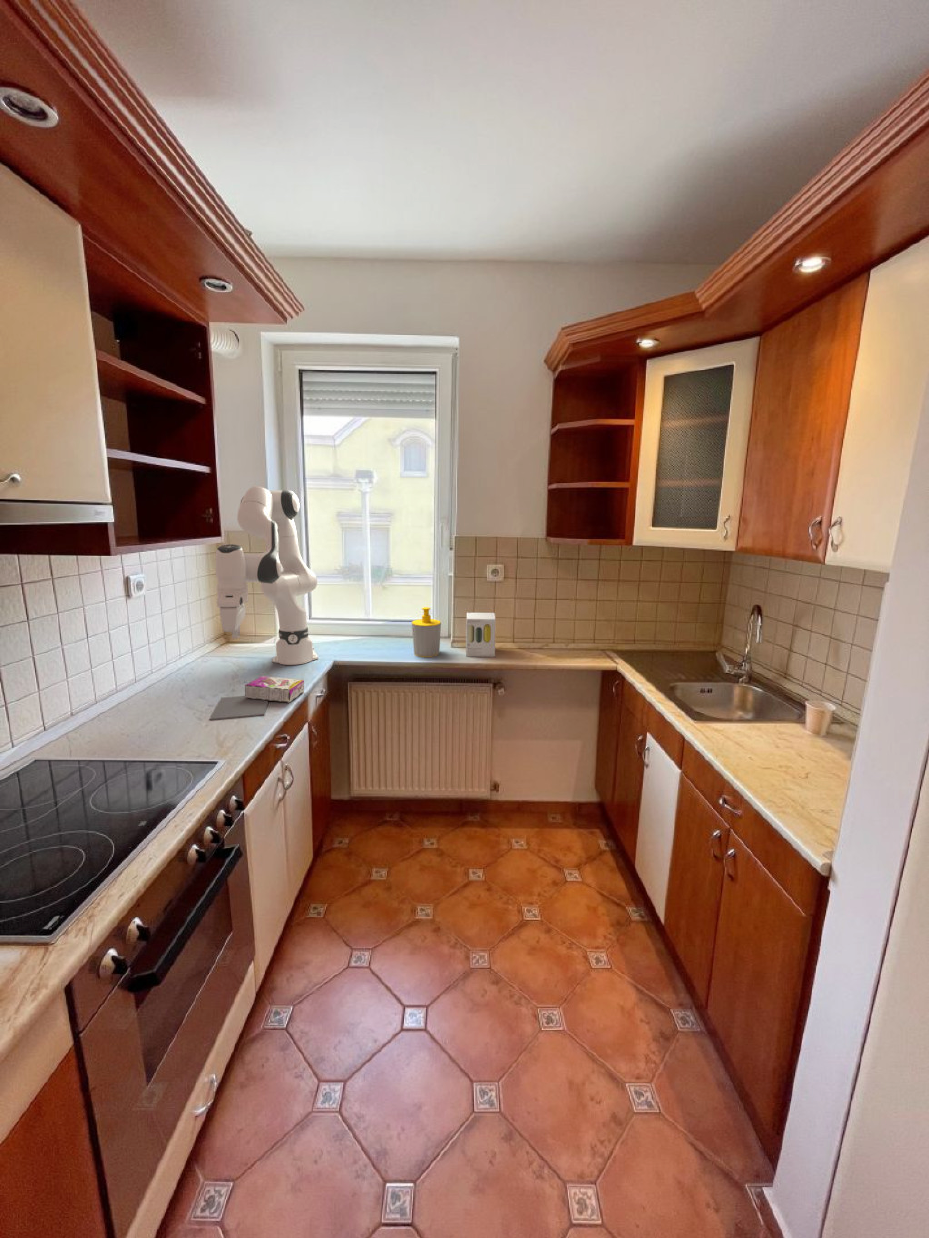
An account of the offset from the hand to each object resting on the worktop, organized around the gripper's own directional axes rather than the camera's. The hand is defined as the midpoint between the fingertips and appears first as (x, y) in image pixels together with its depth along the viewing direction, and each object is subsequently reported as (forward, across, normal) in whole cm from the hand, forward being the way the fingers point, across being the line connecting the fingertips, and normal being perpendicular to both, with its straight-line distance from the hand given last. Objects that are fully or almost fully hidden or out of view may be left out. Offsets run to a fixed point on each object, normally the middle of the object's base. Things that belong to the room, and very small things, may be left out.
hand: (236, 637), depth 164 cm
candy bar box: (+20, -8, +3) cm, 22 cm away
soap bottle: (+23, -44, +72) cm, 87 cm away
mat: (+23, +3, +1) cm, 23 cm away
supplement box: (+22, -39, +96) cm, 106 cm away
